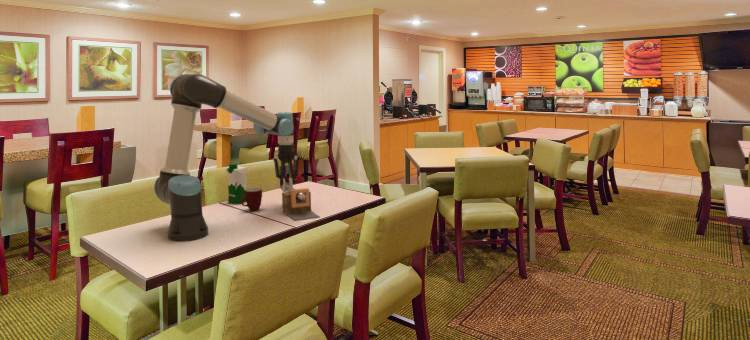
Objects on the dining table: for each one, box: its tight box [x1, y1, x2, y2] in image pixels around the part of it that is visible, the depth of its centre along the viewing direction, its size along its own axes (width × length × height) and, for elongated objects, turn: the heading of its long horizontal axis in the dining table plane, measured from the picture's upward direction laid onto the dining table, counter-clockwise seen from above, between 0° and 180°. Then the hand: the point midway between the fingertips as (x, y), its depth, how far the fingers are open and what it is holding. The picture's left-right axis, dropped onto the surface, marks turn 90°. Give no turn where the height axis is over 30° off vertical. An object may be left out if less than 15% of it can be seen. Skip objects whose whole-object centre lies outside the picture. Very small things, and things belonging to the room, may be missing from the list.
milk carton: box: [225, 163, 248, 205], centre depth 241 cm, size 9×9×20 cm
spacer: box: [291, 187, 310, 208], centre depth 218 cm, size 8×2×8 cm, turn 118°
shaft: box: [280, 181, 306, 201], centre depth 226 cm, size 26×5×5 cm, turn 29°
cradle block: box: [281, 191, 312, 216], centre depth 223 cm, size 12×6×10 cm, turn 118°
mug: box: [241, 187, 263, 212], centre depth 226 cm, size 11×8×10 cm
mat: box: [286, 210, 321, 222], centre depth 217 cm, size 12×11×1 cm
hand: (287, 190), depth 234 cm, fingers closed on shaft, 3 cm apart
